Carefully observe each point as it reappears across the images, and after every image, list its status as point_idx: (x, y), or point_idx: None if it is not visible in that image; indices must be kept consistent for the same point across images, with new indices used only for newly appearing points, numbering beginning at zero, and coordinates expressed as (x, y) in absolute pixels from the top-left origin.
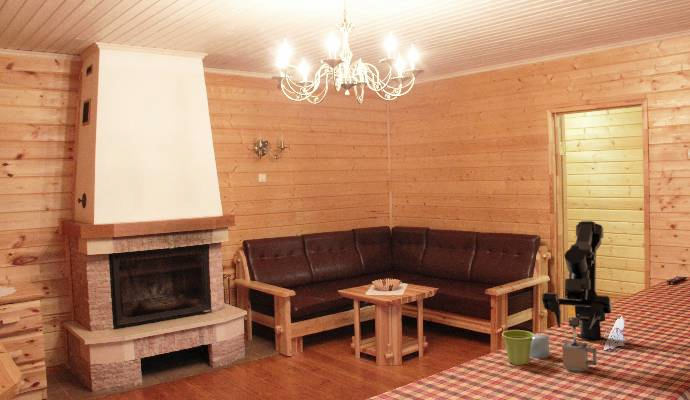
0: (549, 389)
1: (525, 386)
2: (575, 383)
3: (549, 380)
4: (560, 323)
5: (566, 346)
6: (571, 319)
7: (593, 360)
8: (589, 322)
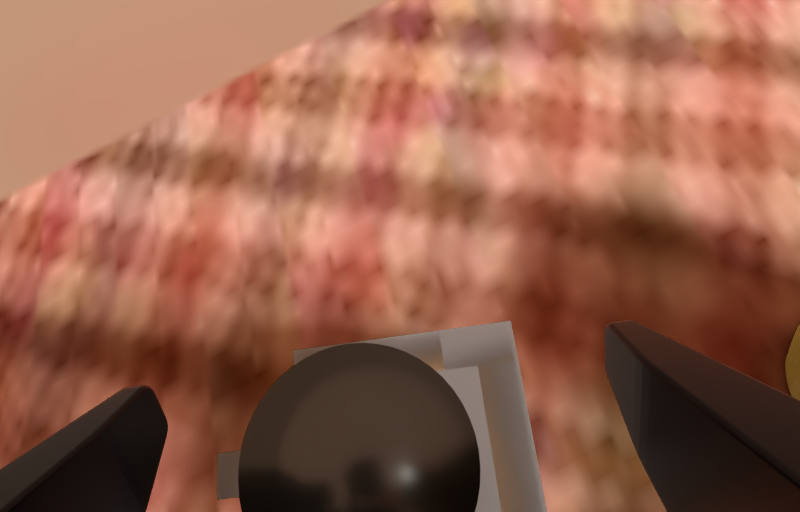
0: (452, 28)
1: (576, 4)
2: (357, 165)
3: (501, 139)
4: (641, 451)
5: (476, 356)
6: (389, 357)
7: None
8: (71, 442)
